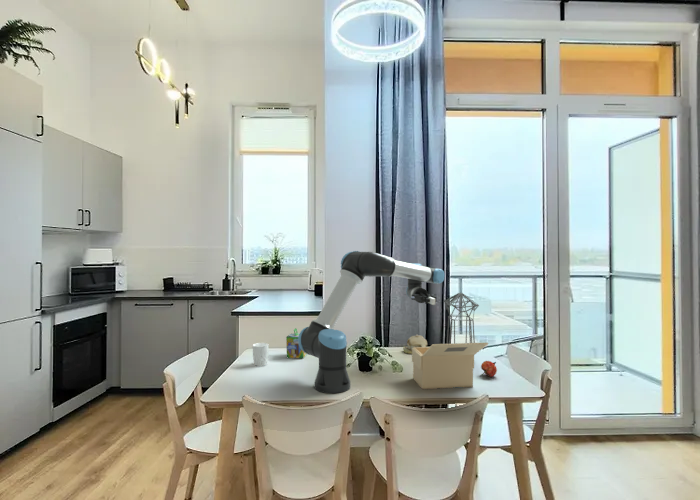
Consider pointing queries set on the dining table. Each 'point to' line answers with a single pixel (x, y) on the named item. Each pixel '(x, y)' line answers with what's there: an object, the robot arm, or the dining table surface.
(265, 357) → the white cup
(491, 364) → the pomegranate
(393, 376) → the dining table surface
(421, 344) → the ceramic model
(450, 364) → the carton
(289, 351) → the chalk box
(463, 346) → the lid flap
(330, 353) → the robot arm
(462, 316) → the geometric lantern
